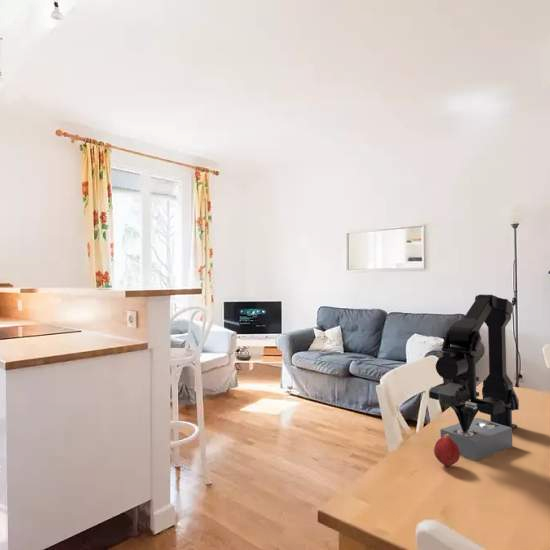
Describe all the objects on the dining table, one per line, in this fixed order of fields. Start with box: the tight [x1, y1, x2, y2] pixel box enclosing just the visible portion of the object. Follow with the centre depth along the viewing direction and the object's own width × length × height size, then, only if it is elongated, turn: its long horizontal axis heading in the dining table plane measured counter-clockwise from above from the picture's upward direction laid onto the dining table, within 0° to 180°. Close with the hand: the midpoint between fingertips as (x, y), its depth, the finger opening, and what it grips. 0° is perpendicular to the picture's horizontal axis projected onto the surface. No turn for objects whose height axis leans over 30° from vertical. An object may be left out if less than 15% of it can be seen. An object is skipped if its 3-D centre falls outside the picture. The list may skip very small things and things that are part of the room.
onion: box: [433, 434, 461, 468], centre depth 98 cm, size 6×6×8 cm
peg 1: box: [457, 429, 474, 437], centre depth 107 cm, size 4×4×5 cm
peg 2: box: [479, 422, 495, 429], centre depth 112 cm, size 4×4×5 cm
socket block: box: [440, 417, 513, 462], centre depth 110 cm, size 17×10×5 cm, turn 121°
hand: (465, 431), depth 107 cm, fingers closed, pressing on peg 1
